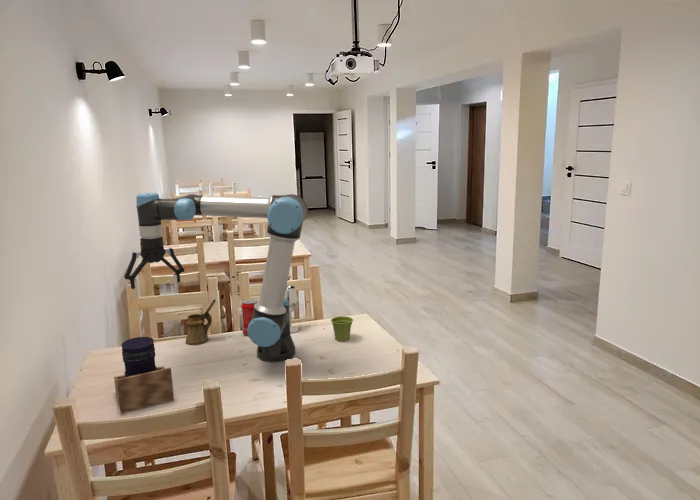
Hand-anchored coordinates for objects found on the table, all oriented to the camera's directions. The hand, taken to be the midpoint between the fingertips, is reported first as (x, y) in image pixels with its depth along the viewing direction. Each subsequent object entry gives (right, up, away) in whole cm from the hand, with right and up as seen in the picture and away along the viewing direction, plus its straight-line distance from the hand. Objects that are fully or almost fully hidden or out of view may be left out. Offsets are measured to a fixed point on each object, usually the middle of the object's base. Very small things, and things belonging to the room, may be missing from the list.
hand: (157, 294), depth 180 cm
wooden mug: (+7, -23, +32) cm, 40 cm away
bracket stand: (+2, -32, -15) cm, 36 cm away
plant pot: (+67, -22, +31) cm, 77 cm away
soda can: (+27, -21, +39) cm, 52 cm away
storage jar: (+1, -29, -16) cm, 33 cm away
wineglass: (+44, -20, +42) cm, 64 cm away
